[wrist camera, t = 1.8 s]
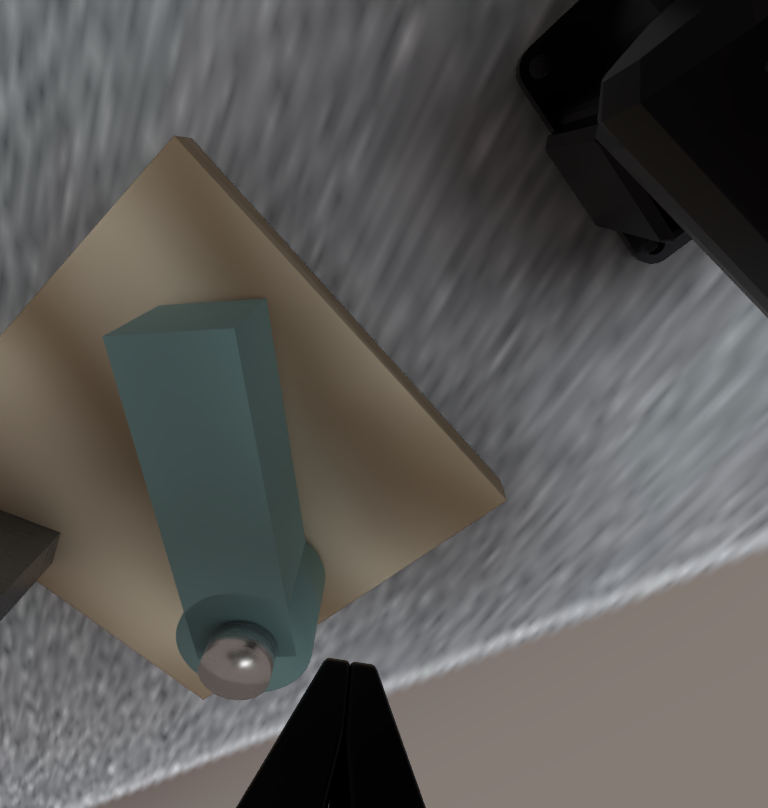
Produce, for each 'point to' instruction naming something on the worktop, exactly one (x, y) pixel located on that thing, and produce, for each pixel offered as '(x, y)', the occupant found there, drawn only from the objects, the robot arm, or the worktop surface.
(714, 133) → the robot arm
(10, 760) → the worktop surface
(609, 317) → the worktop surface
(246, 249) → the board
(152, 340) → the link
